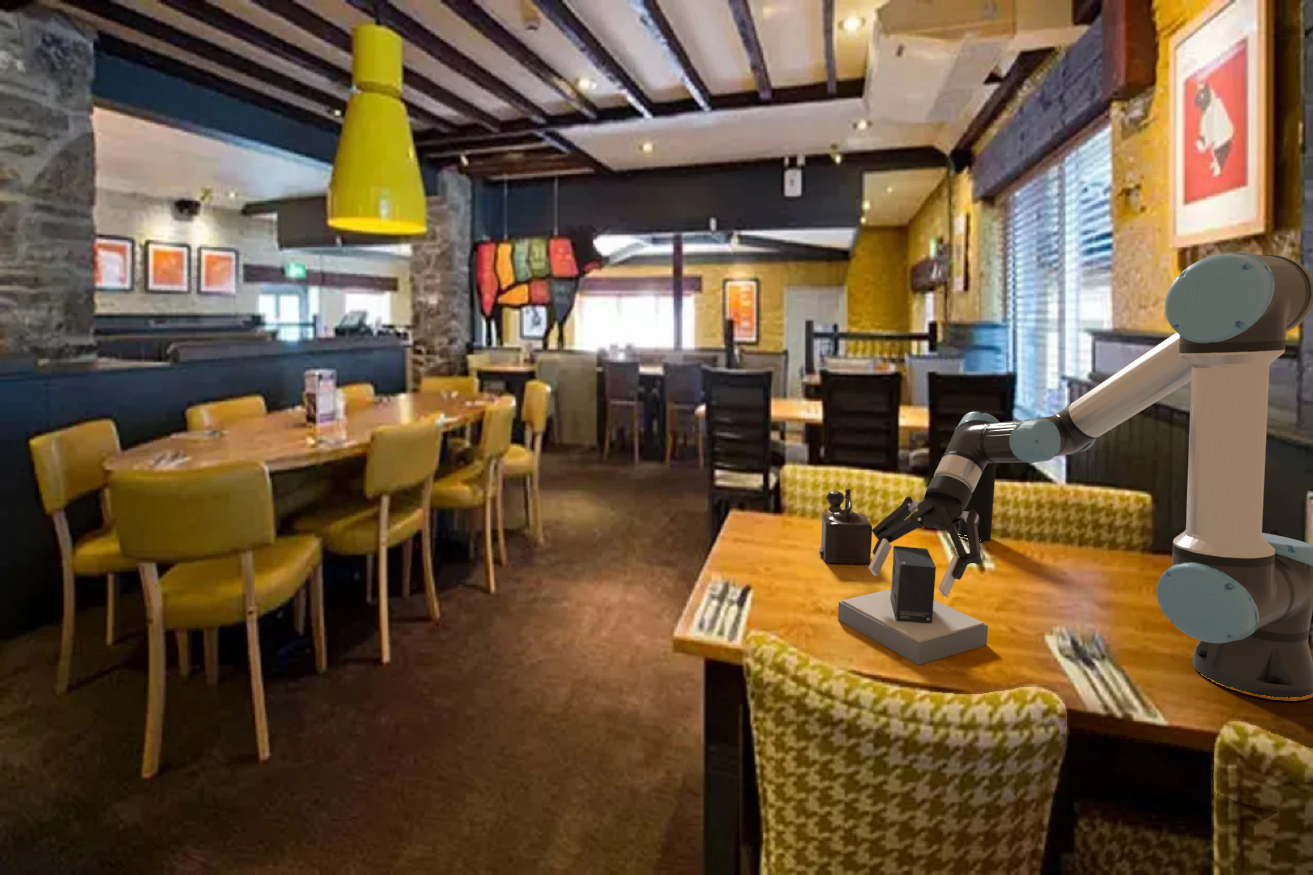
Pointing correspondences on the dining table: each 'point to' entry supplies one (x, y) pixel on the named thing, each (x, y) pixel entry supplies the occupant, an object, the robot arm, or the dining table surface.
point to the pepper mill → (845, 533)
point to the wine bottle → (982, 504)
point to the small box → (912, 584)
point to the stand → (913, 628)
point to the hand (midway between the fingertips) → (906, 582)
